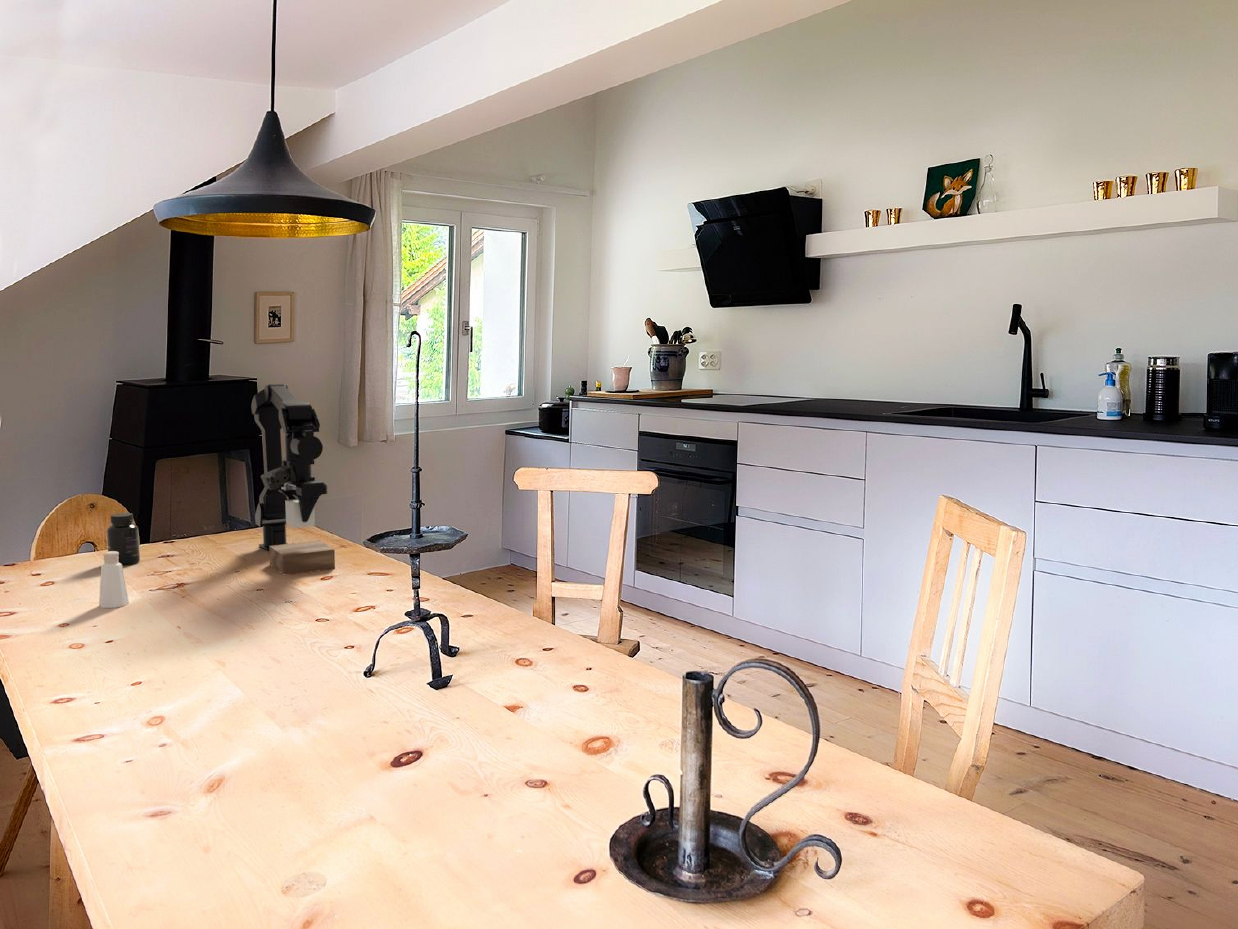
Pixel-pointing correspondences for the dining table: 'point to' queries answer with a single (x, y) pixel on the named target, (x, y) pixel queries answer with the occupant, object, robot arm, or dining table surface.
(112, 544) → the supplement bottle
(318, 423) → the robot arm
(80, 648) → the dining table surface
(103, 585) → the salt shaker
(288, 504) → the grey block
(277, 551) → the walnut box
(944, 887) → the dining table surface
